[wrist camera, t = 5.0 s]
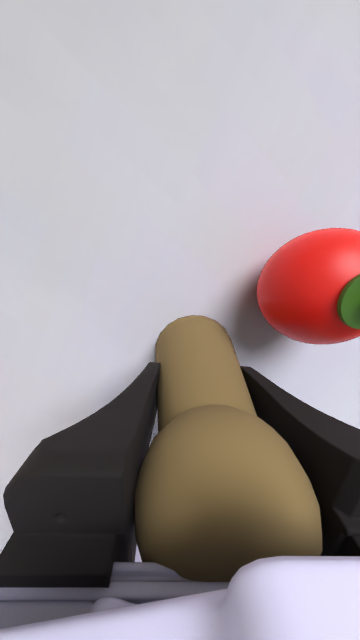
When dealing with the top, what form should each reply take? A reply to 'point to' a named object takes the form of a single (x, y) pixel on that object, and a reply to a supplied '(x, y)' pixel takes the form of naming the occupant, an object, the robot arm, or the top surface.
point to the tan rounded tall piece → (217, 467)
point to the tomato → (314, 287)
